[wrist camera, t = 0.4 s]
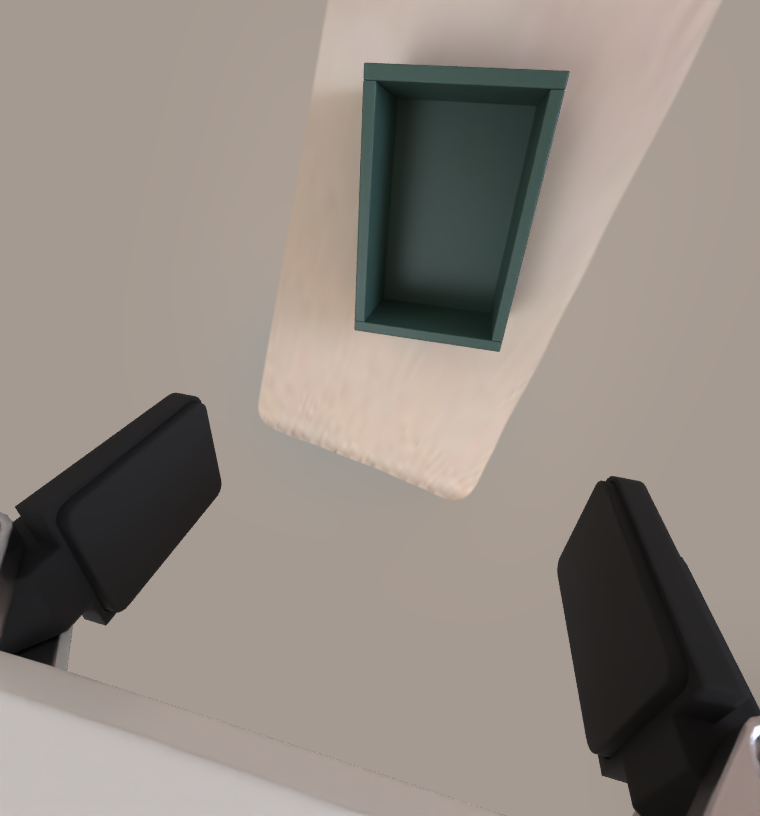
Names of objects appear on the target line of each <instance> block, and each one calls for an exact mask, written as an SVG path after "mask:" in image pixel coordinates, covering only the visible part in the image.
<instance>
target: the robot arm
mask: <svg viewBox="0 0 760 816" xmlns="http://www.w3.org/2000/svg"><path fill="white" fill-rule="evenodd" d="M220 489H221V478H220V473H219V468H218V463H217V458H216V453H215V448H214V443H213V439H212V434H211V429H210V424H209V419H208V415H207V410H206V407H205V405H204V404H202V403H201V400H200V399H199V398H198V397H196V396H191V395H185V394H180V393H172V394H170V395H168V396H167V397H165V398H164V399H163V400H161V401H160V402H159V403H157V404H156V405H154V406H153V407H152V408H150V409H149V410H148V411H146V412H145V413H143V414H142V415H141V416H139V417H138V418H136V419H135V420H134V421H132V422H131V423H130V424H128V425H127V426H126V427H124V428H123V429H121V430H120V431H119V432H117V433H116V434H115V435H113V436H112V437H110V438H109V439H108V440H106V441H105V442H103V443H102V444H101V445H99V446H98V447H97V448H95V449H94V450H93V451H91V452H90V453H88V454H87V455H86V456H84V457H83V458H81V459H80V460H79V461H77V462H76V463H75V464H73V465H72V466H70V467H69V468H68V469H67V470H65V471H63V472H62V473H61V474H59V475H58V476H57V477H56V478H54V479H52V480H51V481H50V482H49V483H47V484H46V485H44V486H43V487H41V488H40V489H39V490H37V491H36V492H35V493H34V494H32V495H30V496H29V497H28V498H26V499H25V500H23V501H22V502H21V503H20V504H18V505H17V506H16V507H15V508H16V509H17V511H18V513H19V514H20V517H19V518H18V519H16V520H15V521H14V522H12V521H11V519H10V518H9V517H8V515H6V514H3V513H1V512H0V816H505V815H502V814H499V813H496V812H493V811H490V810H487V809H484V808H481V807H478V806H475V805H472V804H469V803H466V802H463V801H460V800H457V799H454V798H451V797H448V796H445V795H442V794H439V793H436V792H433V791H430V790H427V789H424V788H421V787H418V786H415V785H412V784H409V783H406V782H403V781H400V780H397V779H394V778H391V777H388V776H385V775H382V774H379V773H376V772H373V771H370V770H367V769H364V768H361V767H358V766H355V765H352V764H349V763H346V762H343V761H340V760H337V759H334V758H331V757H328V756H325V755H322V754H319V753H316V752H313V751H310V750H307V749H304V748H301V747H298V746H295V745H292V744H289V743H285V742H283V741H280V740H276V739H274V738H271V737H267V736H265V735H261V734H258V733H255V732H252V731H249V730H246V729H243V728H240V727H237V726H234V725H231V724H228V723H225V722H221V721H219V720H216V719H213V718H210V717H207V716H204V715H200V714H198V713H194V712H191V711H188V710H185V709H182V708H179V707H176V706H173V705H170V704H167V703H164V702H161V701H158V700H155V699H151V698H148V697H145V696H142V695H139V694H136V693H133V692H130V691H127V690H124V689H120V688H117V687H114V686H111V685H108V684H105V683H102V682H98V681H96V680H93V679H90V678H86V677H83V676H80V675H77V674H74V673H71V672H68V671H67V668H68V660H69V652H70V644H71V637H72V629H73V624H74V623H75V622H76V620H78V618H79V617H80V616H81V615H82V616H83V617H84V619H86V620H90V621H93V622H96V623H99V624H103V625H107V624H108V623H109V621H110V620H111V619H112V618H113V617H114V615H115V614H116V613H117V612H121V611H123V610H124V609H126V607H127V606H128V605H129V604H130V603H131V602H132V601H133V599H134V598H135V597H136V595H137V594H138V593H139V592H140V591H141V589H142V588H143V587H144V586H145V584H146V583H147V582H148V581H149V579H150V578H151V577H152V576H153V575H154V573H155V572H156V571H157V570H158V569H159V567H160V566H161V565H162V564H163V562H164V561H165V560H166V559H167V557H168V556H169V555H170V554H171V552H172V551H173V550H174V549H175V547H176V546H177V545H178V544H179V543H180V541H181V540H182V539H183V537H184V536H185V535H186V534H187V533H188V532H189V530H190V529H191V528H192V527H193V525H194V524H195V523H196V522H197V520H198V519H199V518H200V517H201V516H202V514H203V513H204V512H205V510H206V509H207V508H208V507H209V506H210V504H211V503H212V502H213V501H214V500H215V498H216V497H217V496H218V494H219V492H220ZM557 573H558V580H559V585H560V591H561V597H562V603H563V608H564V614H565V620H566V625H567V631H568V637H569V643H570V648H571V654H572V660H573V665H574V671H575V677H576V682H577V688H578V693H579V700H580V705H581V711H582V717H583V722H584V728H585V734H586V739H587V743H588V746H589V748H590V750H591V752H593V753H594V754H598V758H599V763H600V768H601V773H602V776H605V777H609V778H612V779H615V780H618V781H622V782H625V783H628V787H629V792H630V796H631V801H632V805H633V808H634V809H635V812H634V813H633V815H632V816H760V709H759V707H758V705H757V703H756V701H755V699H754V697H753V695H752V693H751V692H750V689H749V687H748V685H747V683H746V681H745V679H744V677H743V675H742V673H741V671H740V669H739V667H738V665H737V663H736V661H735V659H734V658H733V656H732V653H731V651H730V650H729V647H728V646H727V643H726V641H725V640H724V637H723V635H722V633H721V631H720V630H719V628H718V626H717V624H716V622H715V620H714V618H713V616H712V614H711V612H710V610H709V608H708V606H707V604H706V602H705V600H704V598H703V596H702V594H701V592H700V590H699V588H698V586H697V584H696V582H695V580H694V578H693V576H692V574H691V572H690V570H689V568H688V566H687V564H686V563H685V561H684V560H683V558H682V557H680V555H679V553H678V551H677V549H676V547H675V545H674V543H673V541H672V539H671V537H670V535H669V533H668V531H667V529H666V527H665V525H664V523H663V521H662V519H661V517H660V515H659V513H658V510H657V508H656V507H655V505H654V502H653V501H652V499H651V496H650V494H649V493H648V490H647V488H646V486H645V485H644V484H643V483H642V482H640V481H635V480H631V479H626V478H620V477H615V476H611V477H609V478H608V479H607V480H606V482H605V481H599V482H598V483H597V484H596V486H595V488H594V490H593V492H592V494H591V496H590V498H589V500H588V502H587V504H586V506H585V508H584V510H583V512H582V514H581V516H580V518H579V520H578V522H577V524H576V526H575V528H574V530H573V532H572V534H571V536H570V538H569V540H568V542H567V544H566V546H565V548H564V550H563V552H562V554H561V556H560V558H559V561H558V569H557Z"/></svg>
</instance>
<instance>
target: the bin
mask: <svg viewBox="0 0 760 816" xmlns="http://www.w3.org/2000/svg"><path fill="white" fill-rule="evenodd" d="M568 76H569V71H555V70H530V69H506V68H481V67H457V66H432V65H408V64H383V63H364V81H363V108H362V136H361V164H360V192H359V220H358V248H357V276H356V304H355V330H358V331H364V332H371V333H378V334H384V335H391V336H398V337H404V338H411V339H418V340H424V341H431V342H438V343H444V344H451V345H458V346H464V347H471V348H478V349H484V350H491V351H497V352H499V351H500V348H501V344H502V340H503V336H504V332H505V328H506V324H507V320H508V316H509V312H510V308H511V304H512V300H513V296H514V292H515V288H516V284H517V280H518V276H519V272H520V268H521V264H522V260H523V256H524V252H525V248H526V244H527V240H528V236H529V232H530V228H531V224H532V220H533V216H534V212H535V208H536V204H537V200H538V196H539V192H540V188H541V184H542V180H543V176H544V172H545V168H546V164H547V160H548V156H549V152H550V148H551V144H552V140H553V136H554V132H555V128H556V124H557V120H558V116H559V112H560V108H561V104H562V100H563V96H564V92H565V91H564V90H565V88H566V84H567V80H568Z"/></svg>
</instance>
